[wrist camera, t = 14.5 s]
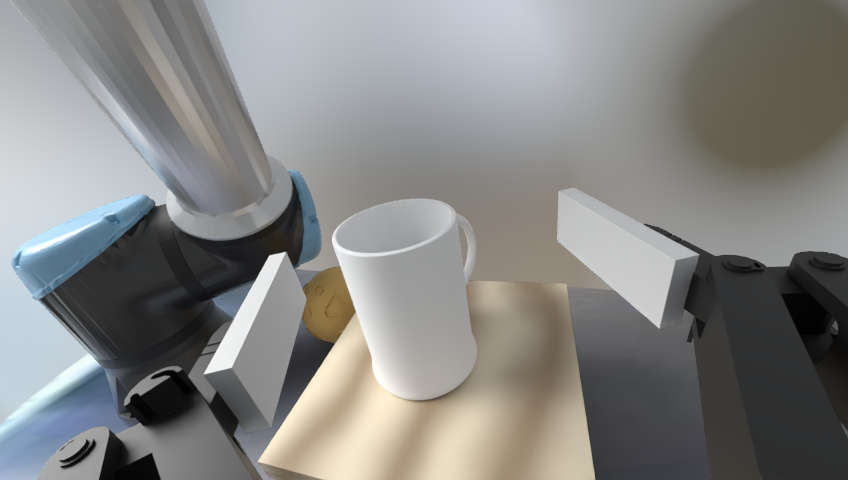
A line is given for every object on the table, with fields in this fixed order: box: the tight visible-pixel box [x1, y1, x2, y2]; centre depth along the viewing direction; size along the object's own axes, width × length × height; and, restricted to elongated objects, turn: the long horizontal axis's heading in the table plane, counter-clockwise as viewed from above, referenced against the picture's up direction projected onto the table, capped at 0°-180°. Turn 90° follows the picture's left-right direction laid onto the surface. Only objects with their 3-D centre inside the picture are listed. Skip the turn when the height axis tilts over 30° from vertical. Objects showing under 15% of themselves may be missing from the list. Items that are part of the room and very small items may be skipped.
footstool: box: [258, 281, 595, 480], centre depth 28 cm, size 20×20×10 cm
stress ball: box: [302, 267, 356, 343], centre depth 42 cm, size 10×10×10 cm
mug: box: [332, 199, 477, 400], centre depth 24 cm, size 12×8×12 cm
